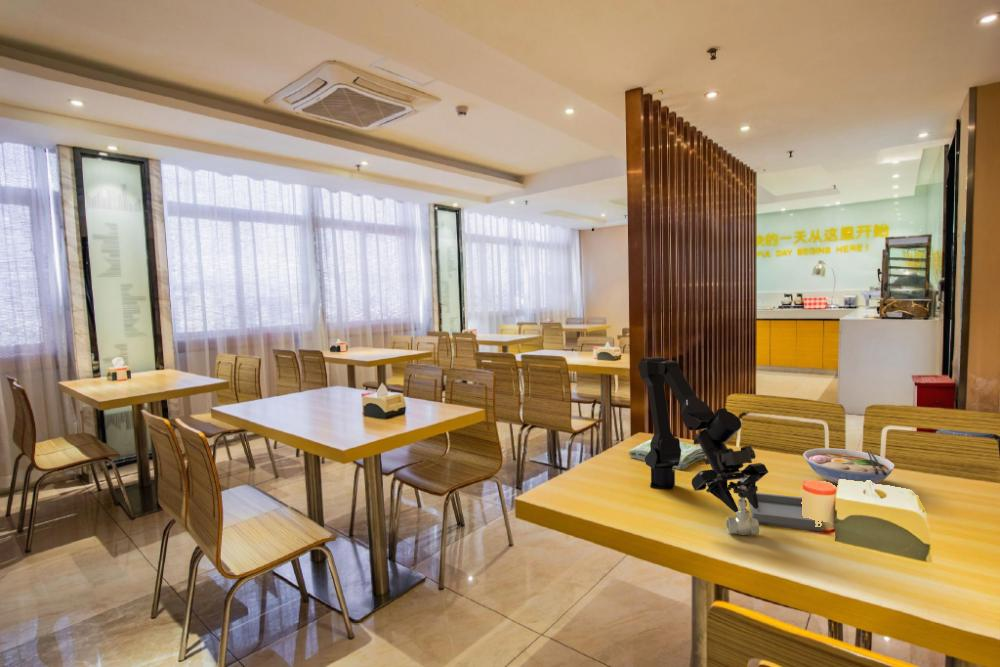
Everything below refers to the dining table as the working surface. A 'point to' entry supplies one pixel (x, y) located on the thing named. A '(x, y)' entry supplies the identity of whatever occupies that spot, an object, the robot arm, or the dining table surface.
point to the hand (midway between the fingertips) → (746, 509)
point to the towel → (687, 457)
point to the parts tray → (782, 512)
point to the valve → (742, 511)
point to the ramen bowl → (848, 465)
